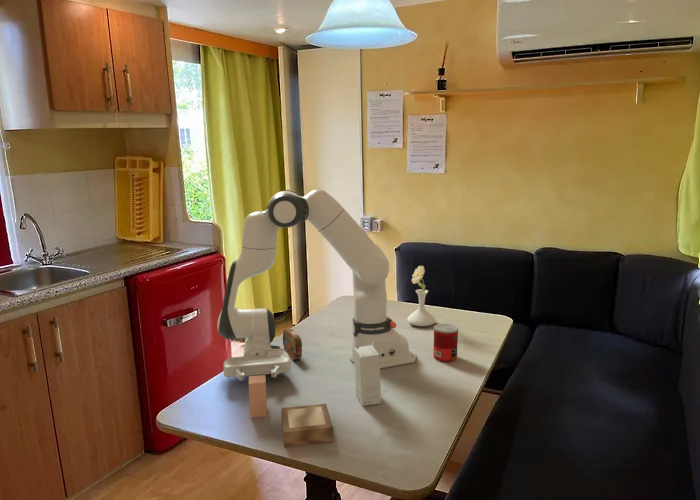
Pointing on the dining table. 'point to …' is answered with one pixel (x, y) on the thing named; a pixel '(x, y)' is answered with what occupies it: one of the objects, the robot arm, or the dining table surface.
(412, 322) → the flower in vase
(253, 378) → the terracotta block
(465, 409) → the dining table surface
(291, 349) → the tin
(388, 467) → the dining table surface
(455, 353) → the canned food
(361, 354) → the skincare box
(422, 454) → the dining table surface
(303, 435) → the plinth
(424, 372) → the dining table surface
